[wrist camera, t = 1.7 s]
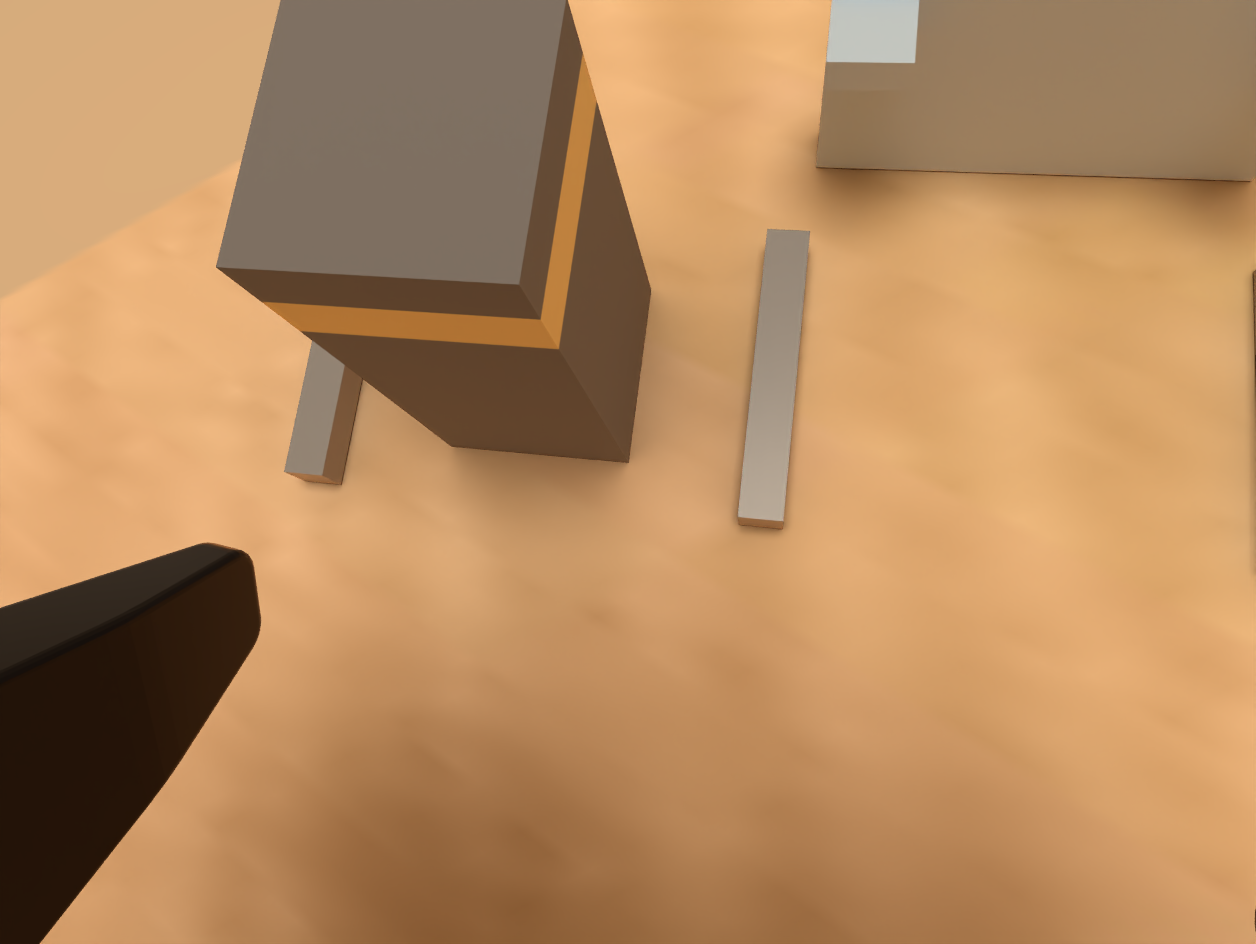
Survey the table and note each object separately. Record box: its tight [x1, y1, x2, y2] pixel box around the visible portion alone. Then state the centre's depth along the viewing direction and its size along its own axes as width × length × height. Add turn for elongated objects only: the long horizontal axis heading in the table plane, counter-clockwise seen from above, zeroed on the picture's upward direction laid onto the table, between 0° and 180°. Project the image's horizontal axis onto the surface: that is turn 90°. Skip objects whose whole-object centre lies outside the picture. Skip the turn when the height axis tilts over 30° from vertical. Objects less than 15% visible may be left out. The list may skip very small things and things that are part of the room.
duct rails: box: [284, 0, 1256, 529], centre depth 19 cm, size 10×23×6 cm, turn 83°
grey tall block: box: [216, 0, 651, 463], centre depth 18 cm, size 4×4×10 cm
